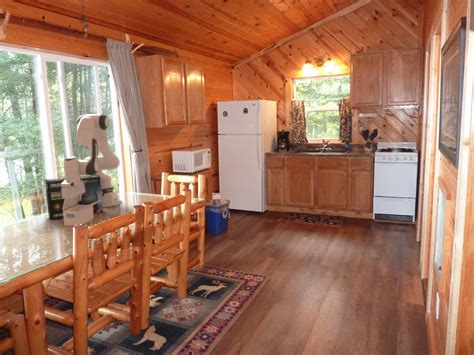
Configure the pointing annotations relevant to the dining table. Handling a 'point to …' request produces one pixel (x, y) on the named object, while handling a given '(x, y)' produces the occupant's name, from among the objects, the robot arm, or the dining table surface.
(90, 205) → the flap
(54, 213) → the router box
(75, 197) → the flap
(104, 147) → the robot arm
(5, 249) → the dining table surface
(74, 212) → the carton
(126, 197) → the dining table surface
